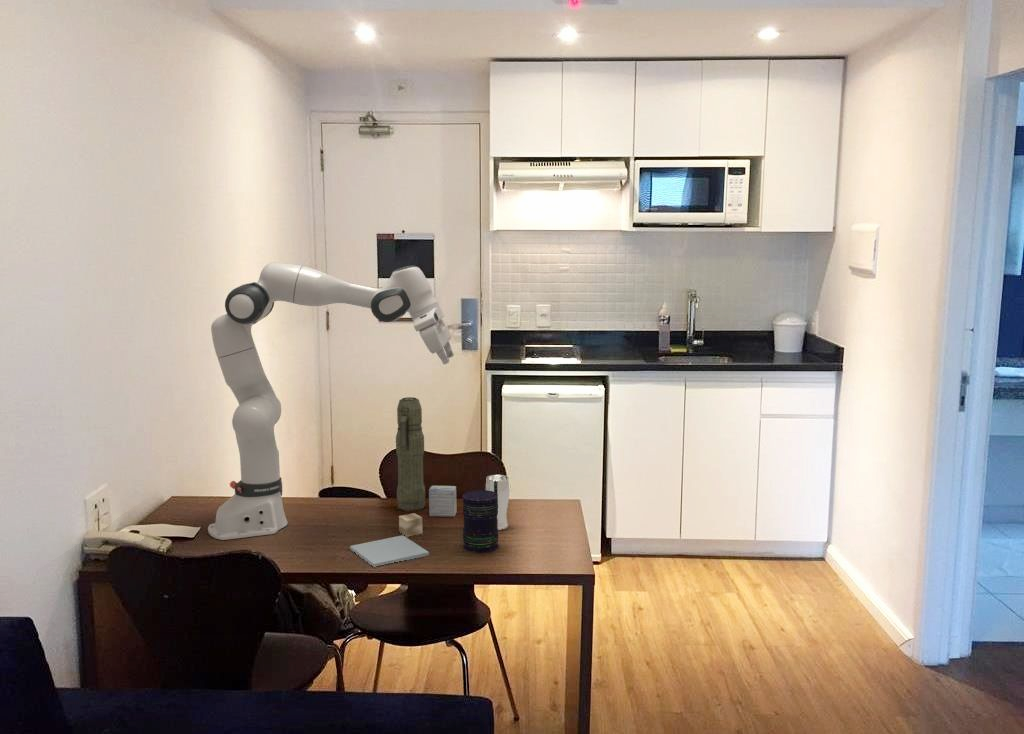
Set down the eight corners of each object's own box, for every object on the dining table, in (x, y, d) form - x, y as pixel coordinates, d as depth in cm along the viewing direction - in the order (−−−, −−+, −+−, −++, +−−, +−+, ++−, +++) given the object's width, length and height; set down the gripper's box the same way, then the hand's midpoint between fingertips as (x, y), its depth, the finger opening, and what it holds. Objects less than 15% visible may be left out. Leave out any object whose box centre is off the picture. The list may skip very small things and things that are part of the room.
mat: (374, 567, 229) (374, 564, 229) (350, 549, 243) (350, 545, 242) (428, 555, 238) (428, 552, 238) (402, 538, 251) (402, 535, 251)
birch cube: (406, 537, 252) (406, 520, 252) (399, 532, 257) (398, 516, 256) (422, 534, 255) (422, 517, 254) (414, 529, 259) (414, 513, 258)
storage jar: (462, 541, 249) (462, 490, 247) (497, 540, 249) (497, 489, 247) (462, 554, 239) (462, 500, 237) (499, 553, 240) (498, 500, 237)
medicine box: (456, 512, 274) (456, 485, 273) (454, 517, 270) (454, 489, 269) (431, 512, 275) (431, 485, 274) (429, 516, 271) (428, 489, 270)
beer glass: (488, 531, 257) (487, 481, 255) (483, 523, 264) (483, 475, 262) (511, 529, 258) (511, 480, 256) (506, 522, 265) (506, 473, 263)
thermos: (392, 512, 275) (390, 402, 269) (402, 501, 286) (399, 395, 281) (420, 513, 274) (418, 402, 268) (428, 502, 285) (427, 395, 280)
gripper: (424, 316, 266) (444, 357, 268) (412, 327, 246) (434, 371, 248) (443, 307, 265) (463, 349, 267) (432, 318, 245) (454, 362, 247)
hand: (449, 360), depth 258 cm, fingers open, 8 cm apart
